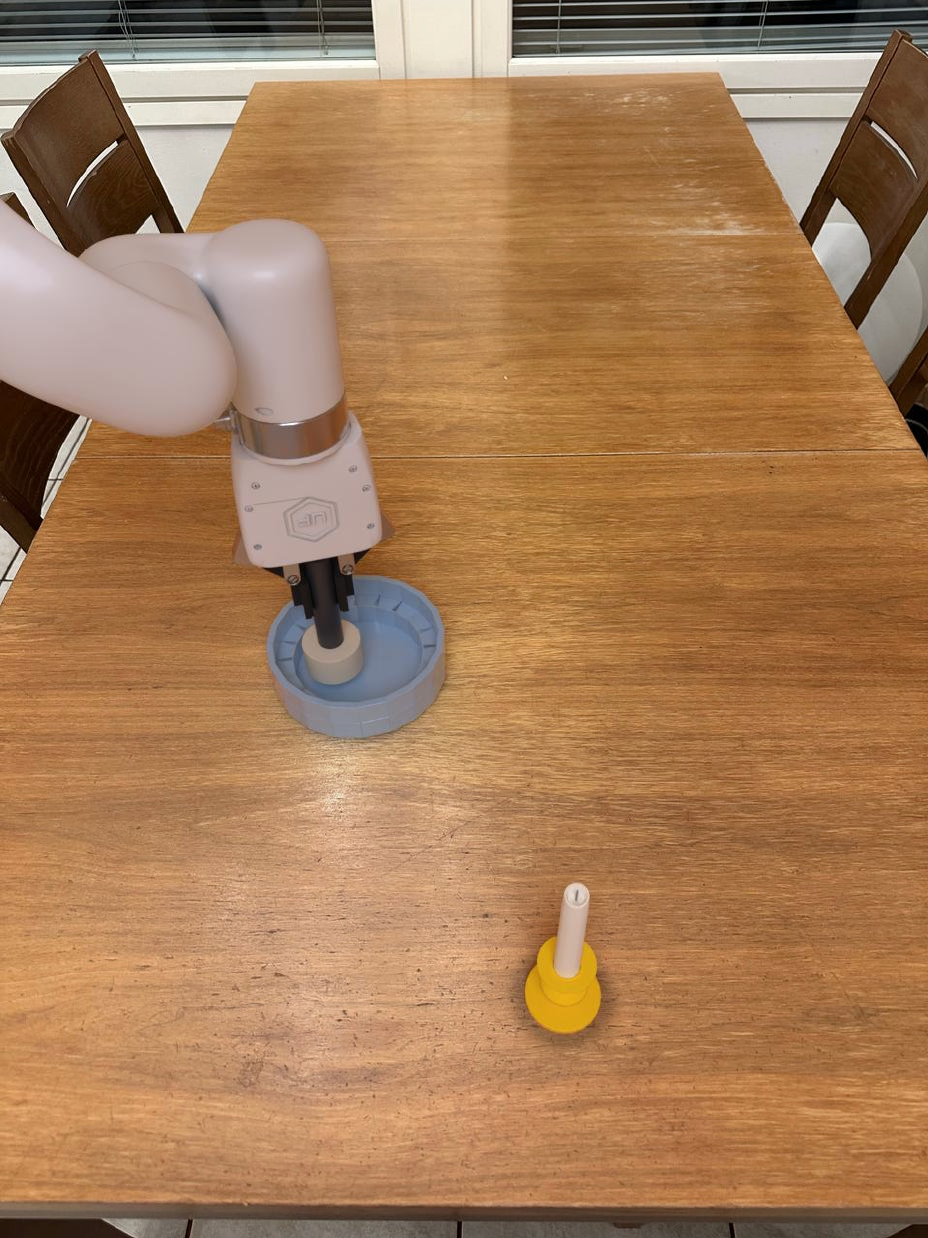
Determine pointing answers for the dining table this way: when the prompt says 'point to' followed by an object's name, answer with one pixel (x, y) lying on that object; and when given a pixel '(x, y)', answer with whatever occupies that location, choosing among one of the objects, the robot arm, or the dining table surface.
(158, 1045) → the dining table surface
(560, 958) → the candle
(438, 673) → the bowl
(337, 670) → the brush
